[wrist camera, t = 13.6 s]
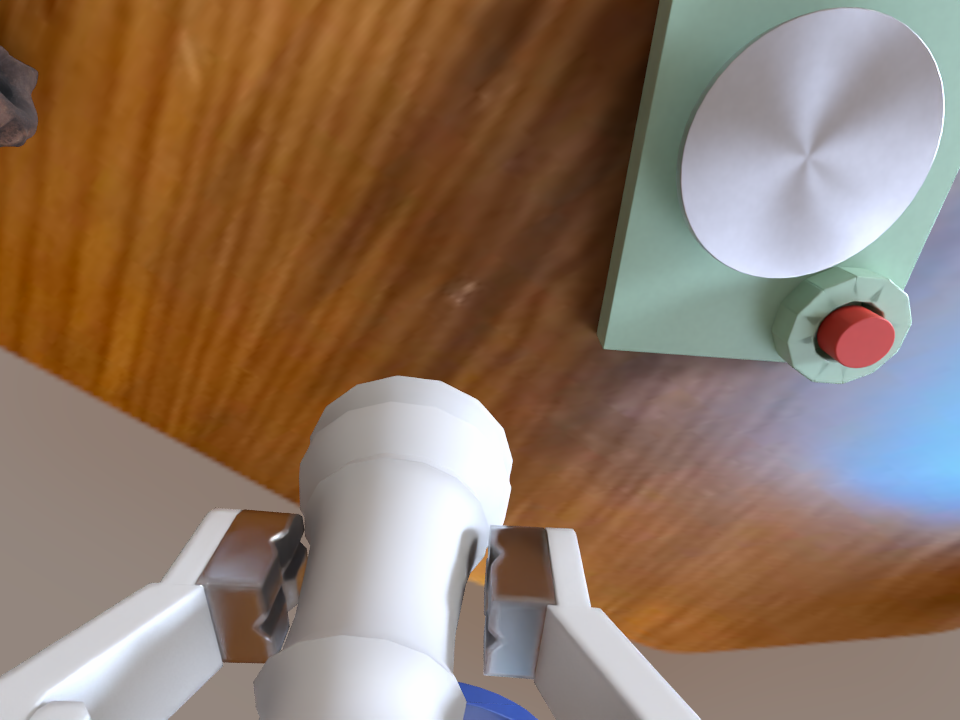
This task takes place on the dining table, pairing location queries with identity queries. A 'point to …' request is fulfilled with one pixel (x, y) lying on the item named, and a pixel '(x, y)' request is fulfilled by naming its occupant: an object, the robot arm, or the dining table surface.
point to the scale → (706, 281)
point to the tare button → (855, 336)
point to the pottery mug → (16, 101)
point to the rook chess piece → (388, 553)
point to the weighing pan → (810, 142)
